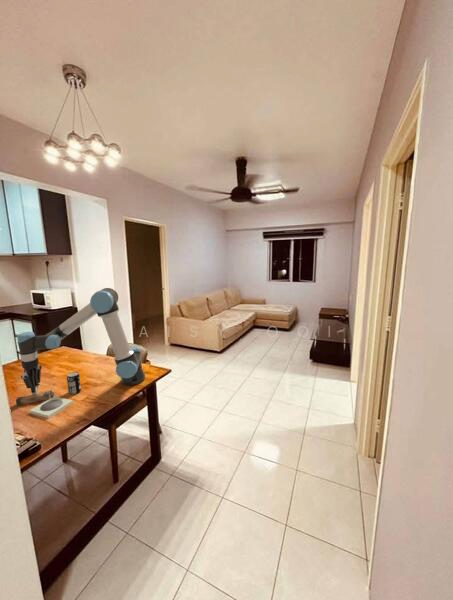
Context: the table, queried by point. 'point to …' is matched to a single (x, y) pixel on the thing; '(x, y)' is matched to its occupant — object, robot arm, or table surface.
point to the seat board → (51, 407)
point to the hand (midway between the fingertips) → (35, 396)
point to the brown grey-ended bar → (33, 398)
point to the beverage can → (73, 383)
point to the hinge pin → (51, 394)
